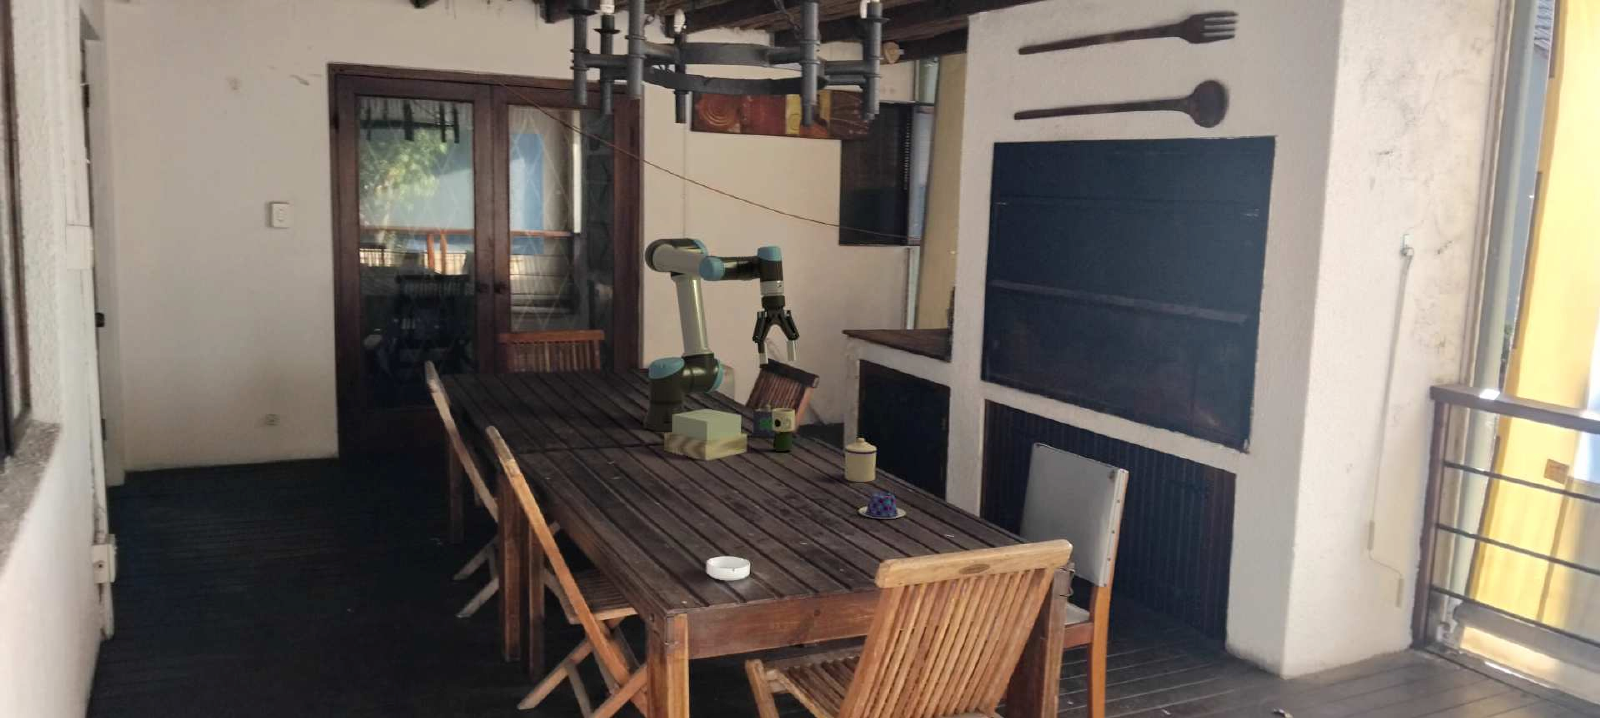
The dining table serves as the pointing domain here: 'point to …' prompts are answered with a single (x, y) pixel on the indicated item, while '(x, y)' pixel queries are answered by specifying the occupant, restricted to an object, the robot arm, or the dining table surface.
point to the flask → (763, 423)
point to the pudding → (882, 507)
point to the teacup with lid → (860, 461)
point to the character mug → (783, 428)
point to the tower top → (706, 424)
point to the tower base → (705, 446)
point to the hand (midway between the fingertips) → (778, 362)
